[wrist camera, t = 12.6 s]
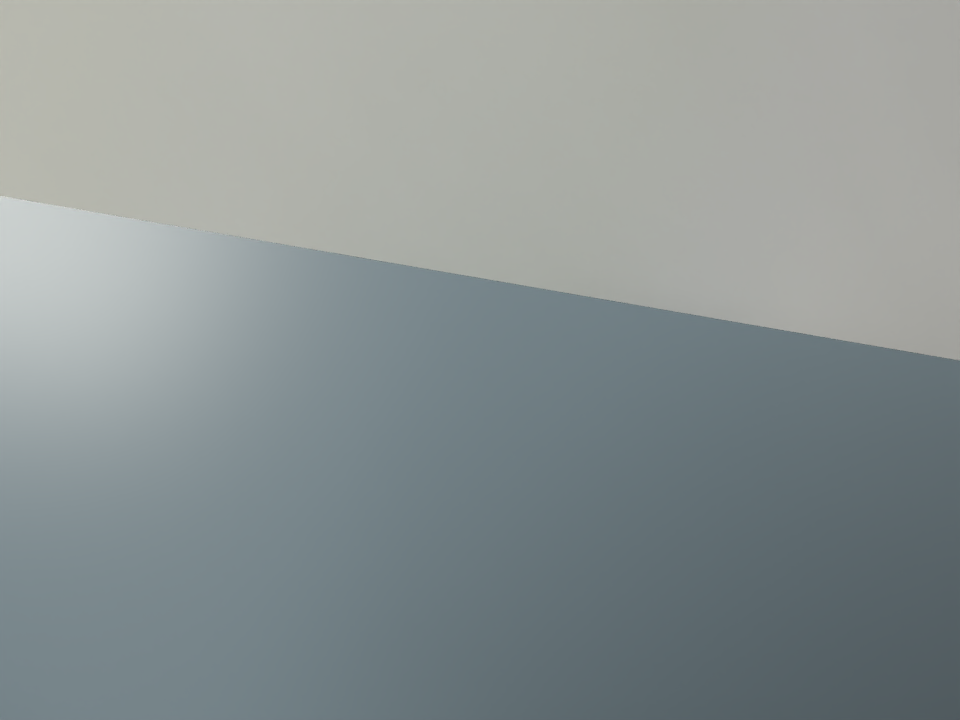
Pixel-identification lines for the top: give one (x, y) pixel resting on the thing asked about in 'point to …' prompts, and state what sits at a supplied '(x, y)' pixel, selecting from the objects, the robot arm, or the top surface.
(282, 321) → the grey square block
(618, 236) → the top surface
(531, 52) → the top surface
